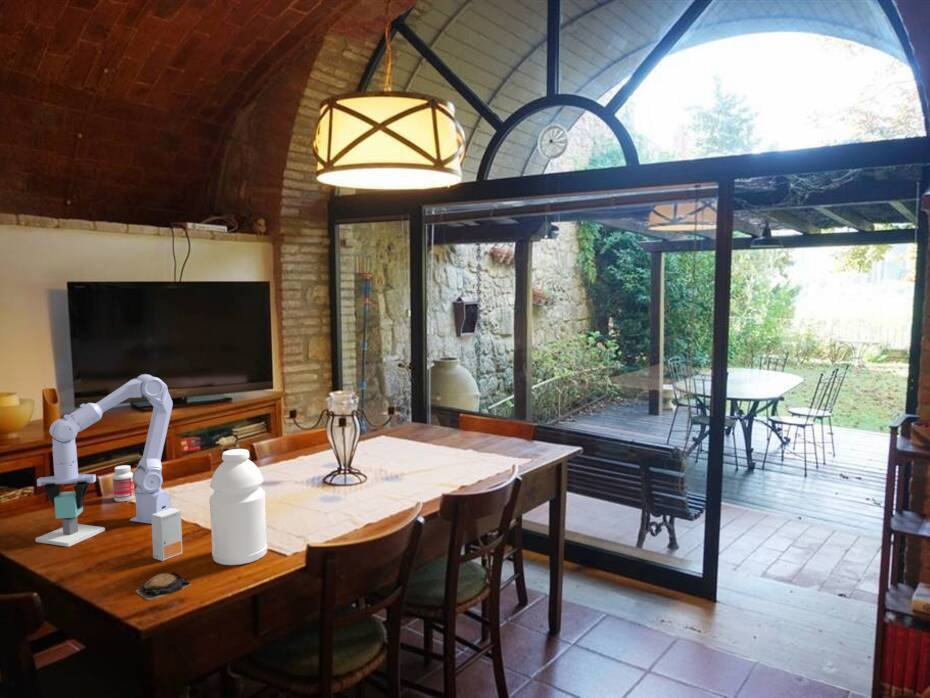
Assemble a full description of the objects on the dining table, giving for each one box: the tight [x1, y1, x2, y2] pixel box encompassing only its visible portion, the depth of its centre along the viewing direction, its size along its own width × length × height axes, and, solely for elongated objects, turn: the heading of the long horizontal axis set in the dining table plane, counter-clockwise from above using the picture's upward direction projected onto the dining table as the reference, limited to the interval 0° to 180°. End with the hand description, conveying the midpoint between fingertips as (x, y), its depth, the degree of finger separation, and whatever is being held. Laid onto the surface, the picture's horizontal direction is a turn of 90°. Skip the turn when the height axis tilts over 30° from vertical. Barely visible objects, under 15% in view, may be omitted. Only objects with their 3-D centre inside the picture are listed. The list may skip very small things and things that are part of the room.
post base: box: [34, 516, 106, 548], centre depth 185 cm, size 12×12×6 cm
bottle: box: [208, 448, 268, 566], centre depth 170 cm, size 14×14×28 cm
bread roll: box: [134, 571, 192, 602], centre depth 153 cm, size 11×8×4 cm
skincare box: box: [151, 507, 183, 562], centre depth 171 cm, size 6×4×12 cm
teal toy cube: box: [54, 490, 84, 520], centre depth 185 cm, size 5×5×6 cm
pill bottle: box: [112, 464, 135, 503], centre depth 217 cm, size 6×6×11 cm
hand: (68, 508), depth 184 cm, fingers closed on teal toy cube, 5 cm apart
